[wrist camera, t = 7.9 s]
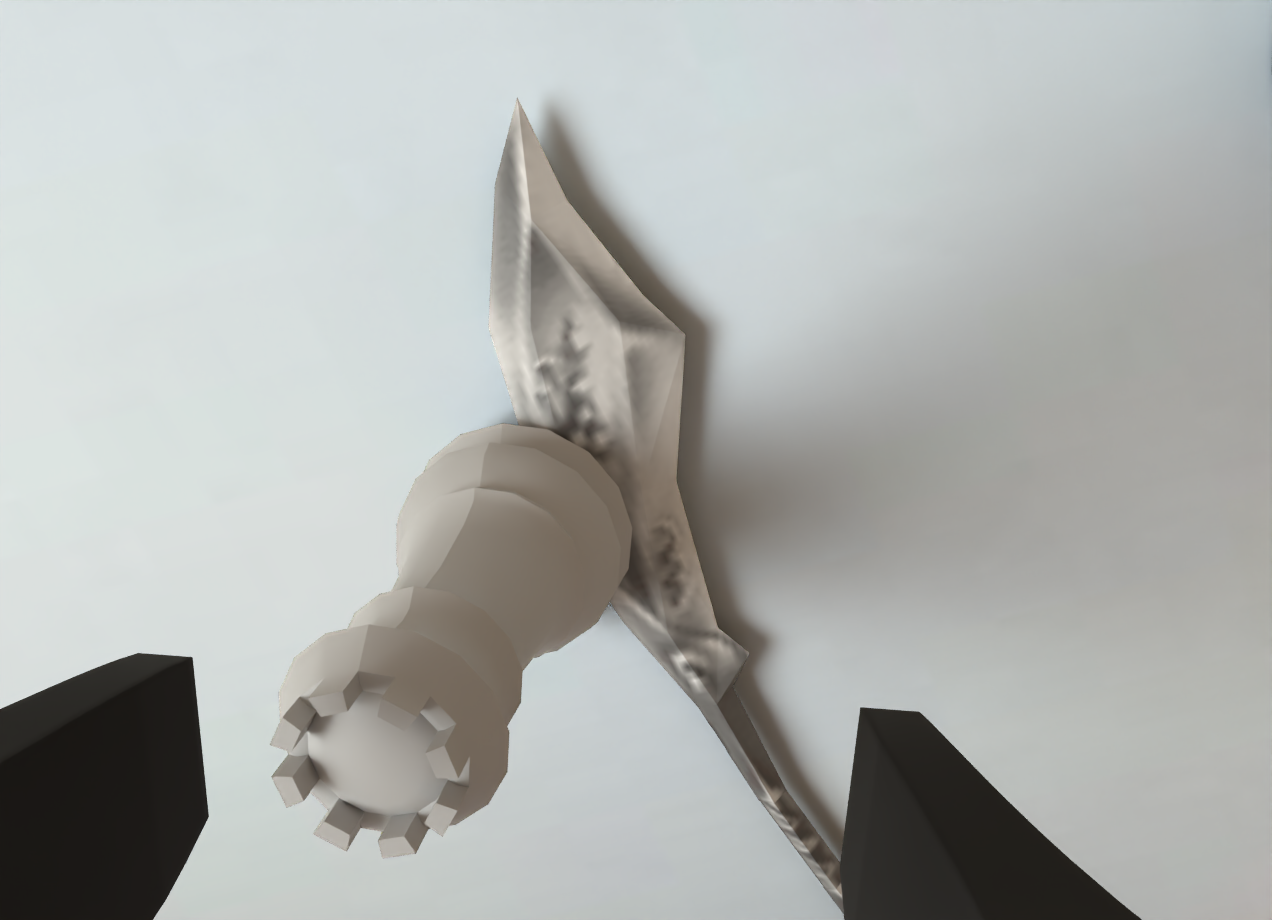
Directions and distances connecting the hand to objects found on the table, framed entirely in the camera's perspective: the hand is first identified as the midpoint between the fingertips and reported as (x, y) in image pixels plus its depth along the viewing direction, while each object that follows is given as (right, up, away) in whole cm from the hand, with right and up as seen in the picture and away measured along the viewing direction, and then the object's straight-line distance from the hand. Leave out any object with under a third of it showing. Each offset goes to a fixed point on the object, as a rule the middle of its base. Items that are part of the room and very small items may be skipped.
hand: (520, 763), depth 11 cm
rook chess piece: (-1, +2, +9) cm, 10 cm away
